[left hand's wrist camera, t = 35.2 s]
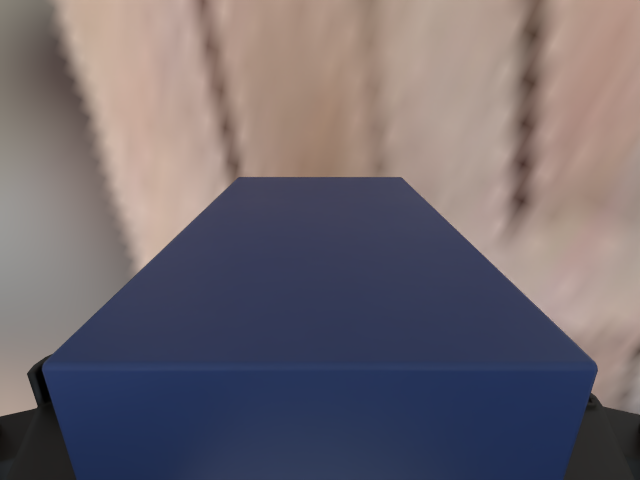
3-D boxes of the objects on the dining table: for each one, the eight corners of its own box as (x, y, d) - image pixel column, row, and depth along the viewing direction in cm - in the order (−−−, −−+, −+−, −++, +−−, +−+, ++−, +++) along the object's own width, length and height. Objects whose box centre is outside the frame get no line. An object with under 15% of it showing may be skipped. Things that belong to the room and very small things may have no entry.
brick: (402, 176, 16) (603, 365, 5) (390, 324, 18) (502, 680, 7) (237, 176, 16) (36, 365, 5) (248, 324, 18) (136, 680, 7)
